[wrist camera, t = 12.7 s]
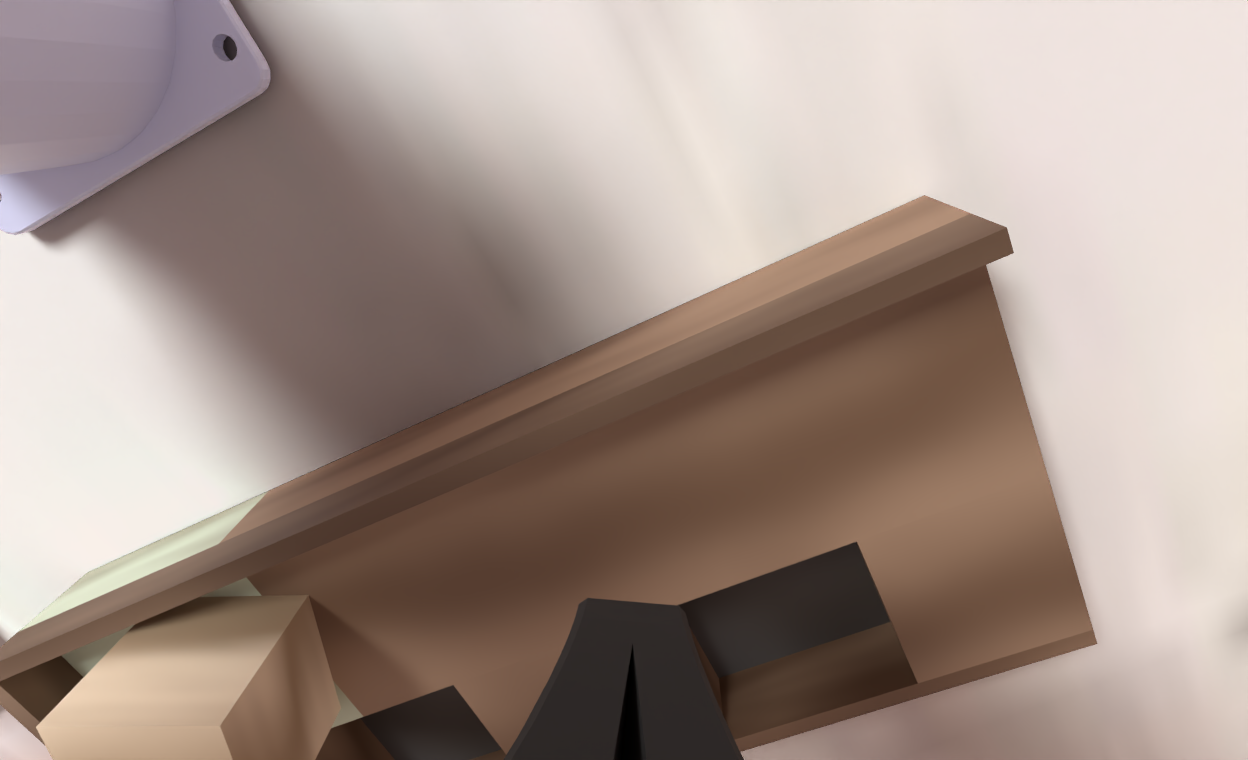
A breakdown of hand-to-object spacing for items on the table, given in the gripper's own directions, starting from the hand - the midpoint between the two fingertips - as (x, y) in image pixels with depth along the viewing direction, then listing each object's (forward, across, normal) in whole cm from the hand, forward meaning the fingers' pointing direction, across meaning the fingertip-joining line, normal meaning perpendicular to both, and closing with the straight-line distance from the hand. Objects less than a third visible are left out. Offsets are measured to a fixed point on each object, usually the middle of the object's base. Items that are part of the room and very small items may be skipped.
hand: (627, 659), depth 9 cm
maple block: (+7, +10, +8) cm, 14 cm away
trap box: (+9, +2, +6) cm, 12 cm away
